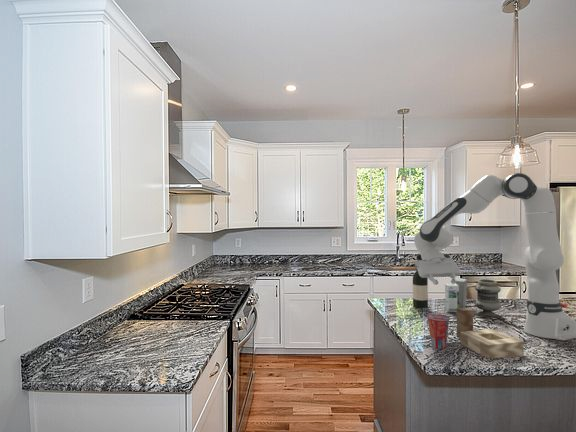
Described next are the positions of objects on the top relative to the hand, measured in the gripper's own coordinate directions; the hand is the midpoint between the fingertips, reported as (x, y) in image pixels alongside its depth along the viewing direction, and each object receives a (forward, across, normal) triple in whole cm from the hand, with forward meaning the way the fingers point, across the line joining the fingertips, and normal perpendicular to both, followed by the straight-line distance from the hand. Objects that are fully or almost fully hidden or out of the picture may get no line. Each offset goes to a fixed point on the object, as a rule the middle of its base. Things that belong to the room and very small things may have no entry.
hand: (445, 283), depth 164 cm
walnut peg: (+23, 0, +6) cm, 24 cm away
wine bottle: (-12, +11, +42) cm, 45 cm away
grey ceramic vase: (+5, +34, +24) cm, 42 cm away
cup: (+29, -18, +1) cm, 34 cm away
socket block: (+34, 0, -5) cm, 34 cm away
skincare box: (-8, +31, +37) cm, 49 cm away
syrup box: (-3, +22, +32) cm, 40 cm away
